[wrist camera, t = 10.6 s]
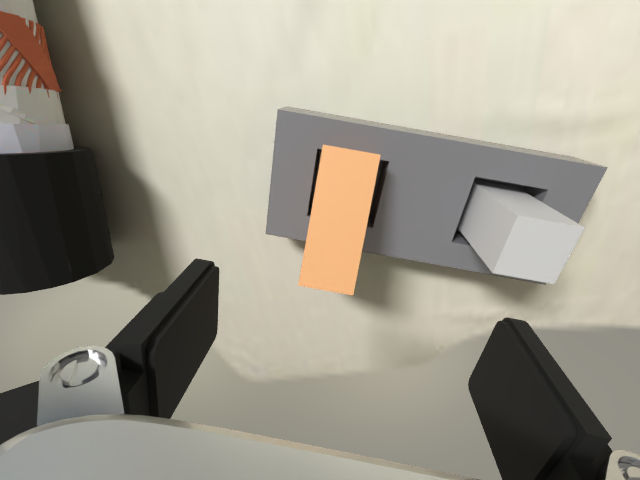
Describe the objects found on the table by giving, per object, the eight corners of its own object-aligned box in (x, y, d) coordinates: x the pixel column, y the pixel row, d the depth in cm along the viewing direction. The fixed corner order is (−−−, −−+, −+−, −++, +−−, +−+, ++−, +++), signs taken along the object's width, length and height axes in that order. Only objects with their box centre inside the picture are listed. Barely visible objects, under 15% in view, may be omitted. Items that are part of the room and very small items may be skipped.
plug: (380, 154, 23) (353, 295, 24) (373, 161, 27) (350, 282, 28) (322, 144, 23) (298, 285, 24) (323, 153, 27) (302, 273, 28)
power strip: (573, 157, 27) (684, 190, 18) (523, 262, 32) (592, 331, 22) (287, 106, 28) (256, 115, 18) (275, 217, 32) (245, 268, 23)
